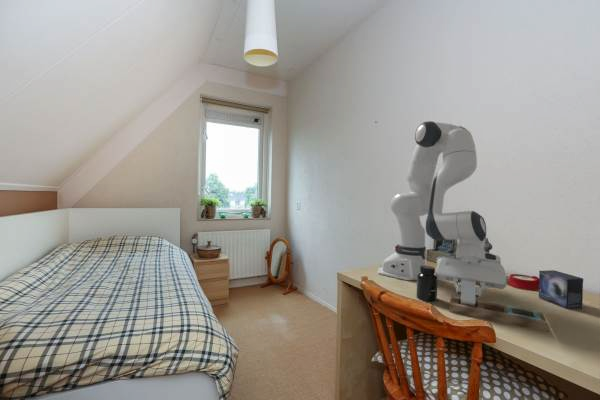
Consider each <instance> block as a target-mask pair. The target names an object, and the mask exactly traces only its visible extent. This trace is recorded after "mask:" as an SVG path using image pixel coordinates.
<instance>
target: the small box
mask: <svg viewBox="0 0 600 400" xmlns="http://www.w3.org/2000/svg"><path fill="white" fill-rule="evenodd" d="M538 272H539V274H538V275H539V276H538V278H539V290H538V298H539V299H541V300H543V301H546V302H547V303H548V302H549V303H551V304H554V305H556V306H559V307H561V308H563V309H566V310H578V309H581V310H582V309H583V295H584V294H583V293H584V290H583V289H584V278H582V277H580V276H575V275H572V274H569V273H566V272H565V273H564V272H562V271H559V270H558V271H557V270H553V269H550V270H548V269H547V270H539V271H538Z"/></svg>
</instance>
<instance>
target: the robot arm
mask: <svg viewBox="0 0 600 400" xmlns="http://www.w3.org/2000/svg"><path fill="white" fill-rule="evenodd" d="M414 133H415V134H414V139H415V140H414V141H415V143H416V146H415V147H414V150H413V151H412V152H413V153H412V156H411V159H410V163H409V166H408V169H407V170H408V171H407V175H406V180H407V182H408V185H409V188H408V189H409V190H408V191H409V192H402V193H399V194H396V195H394V196H393V198H392V199H391V201H390V210H391V211H392V213H393V214H394V215H395V217H396V219H397V223H398V227H399V228H398V229H399V243H397V244H396V245H395V246H394V251H395V252H393V253H392V254H391V255H389V256H388V257H386V258H385V259H384V260H383V262H382V266H381V267H379V268H378V269H377V274H378V275H382V276H386V277H391V278H395V279H400V280H404V281H417V275H418V274H419V273H421V272H420V266H427V264H426V258H427V246H426V234H427V236H428V237H430V238H431V239H432V240H434V241H436V242H439V241H440V242H441V241H447V240H456V242H457V246H456V249H455V251H456V252H455V256H452V255H439V256H438V257H437V258H436V261H435V263H436V268H435V275H436V277H437V278H438V280H441V281H447V282H452V284H453V286H454V288H455V293H456V294H460V295H461V286H459V285H458V284H459V283H460V284H461V279H462V278H468V279H475V280H476V286H477V287H478V286H479V288H478V289H477V288H476V298H481V297H482V293H483V292H484V291H485V290H486V287H487V288H492V289H498V290H499V289H500V290H503V289H505V288H507V277H506V276H507V274H506V271H505V268H504V266H503V265H502V263H501V262H502V261H501V259H502V258H501V257H500V256H499V255H496V254H494V253H490V252H489V253H488V252H485V250H484V246H485V237H486V238H487V223H486V221H485V218H484V217H483V216H482V215H480V214H479V213H478V212H476V211H475V210H466V211H458V212H444V213H443V208H444V201H445V194H446V192H447V191H448V190H449V189H450V188H452V187H454V186H455V185H457V184H459V183H461V182H464V181H465V180H467V179H469V178H470V177H472V175H473V174H474V173H475V172H476V169H477V165H478V163H477V162H478V159H477V150H476V144H475V140H474V138H473V135H472V133H471V132H470V131H469V130H468V129H467V128H465V127H463V126H460V125H459V126H458V125H456V124H452V123H447V122H444V123H443V122H435V121H429V120H428V121H424V122H421V123H420V124H419V125H418V126H417V128H416V130H415V132H414ZM441 154H442V165H441V167H440V169H439V171H438V172H437V173H435V172H436V170H437V165H438V159H439V157H440V155H441ZM425 215H427V217H426V220H425V227H424V226H423V225H422V221H421V218H420V217H422V216H425Z"/></svg>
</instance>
